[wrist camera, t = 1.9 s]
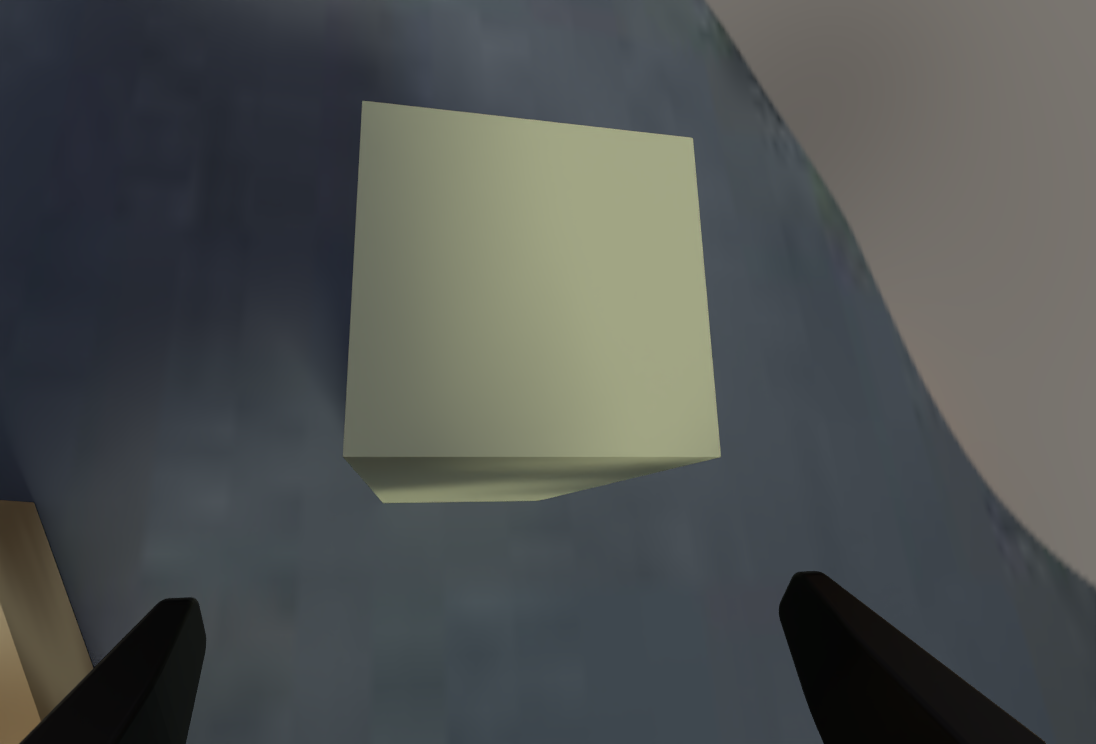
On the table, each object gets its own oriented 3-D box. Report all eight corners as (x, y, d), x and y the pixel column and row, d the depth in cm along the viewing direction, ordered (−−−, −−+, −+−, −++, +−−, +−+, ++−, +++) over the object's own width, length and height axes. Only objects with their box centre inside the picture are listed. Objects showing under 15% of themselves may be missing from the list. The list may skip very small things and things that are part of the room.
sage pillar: (538, 500, 21) (720, 457, 9) (383, 502, 20) (342, 456, 8) (535, 355, 22) (692, 138, 10) (388, 350, 21) (362, 101, 9)
